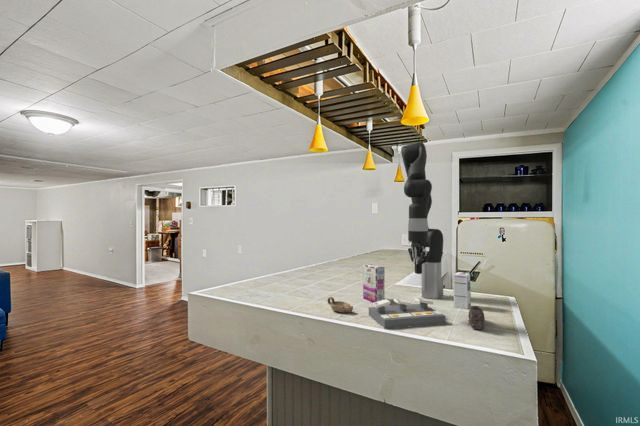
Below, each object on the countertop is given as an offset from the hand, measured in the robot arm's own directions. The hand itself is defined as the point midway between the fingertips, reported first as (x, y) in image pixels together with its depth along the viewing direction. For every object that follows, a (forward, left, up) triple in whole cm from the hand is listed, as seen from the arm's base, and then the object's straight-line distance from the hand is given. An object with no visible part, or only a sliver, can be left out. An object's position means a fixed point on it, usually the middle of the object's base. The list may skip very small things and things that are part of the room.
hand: (418, 273), depth 127 cm
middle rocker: (+7, 0, -11) cm, 13 cm away
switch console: (+7, +2, -17) cm, 18 cm away
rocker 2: (-2, 0, -11) cm, 11 cm away
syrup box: (-25, -8, -17) cm, 32 cm away
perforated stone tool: (-15, +14, -17) cm, 27 cm away
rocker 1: (+16, 0, -11) cm, 19 cm away
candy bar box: (+9, -26, -17) cm, 32 cm away
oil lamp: (+29, -14, -17) cm, 36 cm away
